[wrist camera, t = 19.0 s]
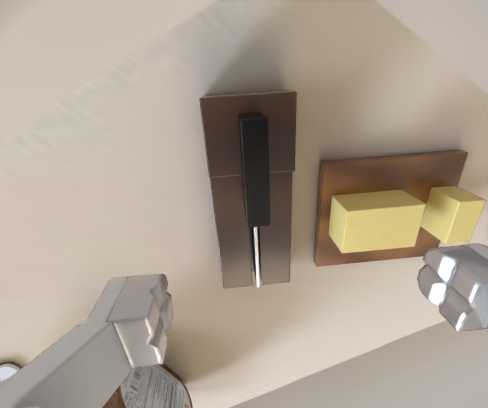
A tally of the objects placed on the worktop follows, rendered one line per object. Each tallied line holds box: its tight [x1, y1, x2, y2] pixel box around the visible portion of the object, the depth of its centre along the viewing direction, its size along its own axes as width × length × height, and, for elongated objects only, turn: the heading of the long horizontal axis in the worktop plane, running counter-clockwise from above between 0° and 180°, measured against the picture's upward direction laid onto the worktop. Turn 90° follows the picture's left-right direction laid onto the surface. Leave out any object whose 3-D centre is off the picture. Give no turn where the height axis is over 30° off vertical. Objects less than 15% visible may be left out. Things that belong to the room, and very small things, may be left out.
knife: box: [238, 113, 270, 287], centre depth 22 cm, size 16×2×6 cm, turn 3°
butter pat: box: [420, 186, 486, 244], centre depth 25 cm, size 4×2×4 cm, turn 2°
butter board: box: [314, 150, 468, 266], centre depth 27 cm, size 12×14×1 cm
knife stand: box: [200, 90, 297, 289], centre depth 24 cm, size 18×7×4 cm, turn 3°
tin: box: [102, 364, 192, 408], centre depth 32 cm, size 15×3×8 cm, turn 30°
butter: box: [328, 190, 426, 253], centre depth 25 cm, size 4×7×4 cm, turn 94°
